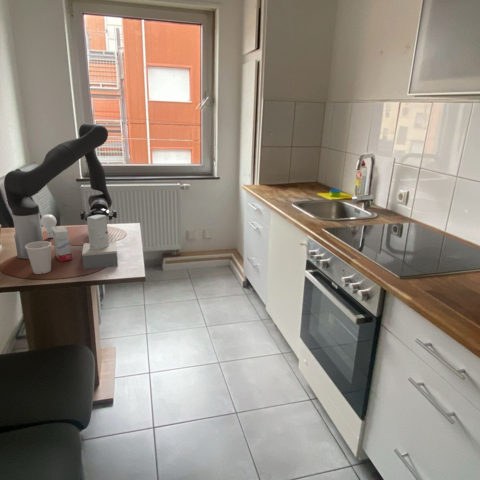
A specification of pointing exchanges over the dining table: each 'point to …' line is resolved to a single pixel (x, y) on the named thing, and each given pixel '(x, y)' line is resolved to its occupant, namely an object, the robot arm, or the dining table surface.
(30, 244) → the dixie cup
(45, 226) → the lightbulb
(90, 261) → the plinth
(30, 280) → the dining table surface
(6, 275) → the dining table surface
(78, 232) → the dining table surface
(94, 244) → the skincare box
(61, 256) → the ink box
